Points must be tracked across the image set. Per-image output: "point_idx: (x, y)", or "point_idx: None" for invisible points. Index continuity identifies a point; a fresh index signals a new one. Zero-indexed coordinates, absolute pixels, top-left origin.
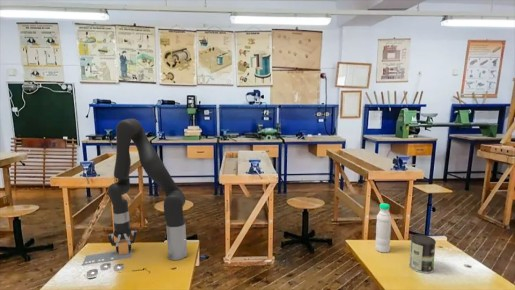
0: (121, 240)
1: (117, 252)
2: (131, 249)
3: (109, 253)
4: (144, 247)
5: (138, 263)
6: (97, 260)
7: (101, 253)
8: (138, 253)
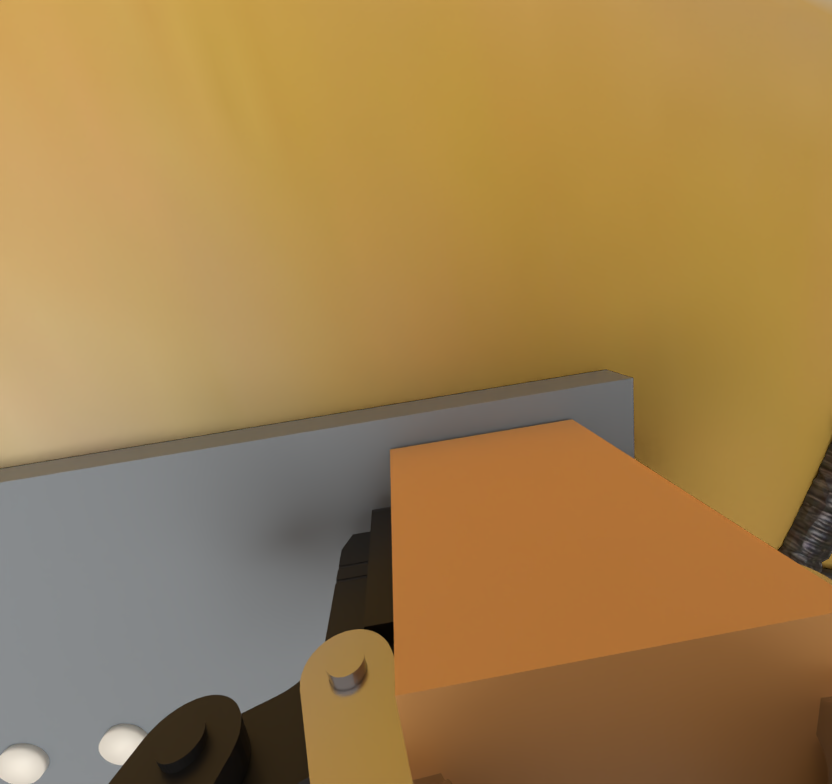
0: (543, 753)
1: (357, 499)
2: (616, 421)
3: (201, 517)
4: (812, 275)
5: None
6: (84, 732)
7: (13, 491)
8: (704, 491)
